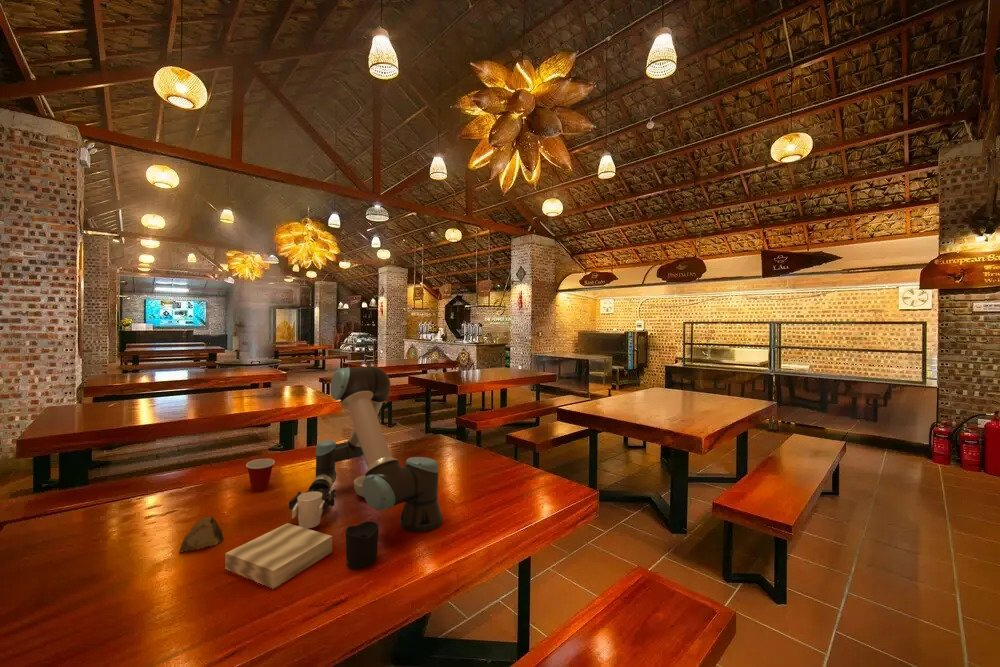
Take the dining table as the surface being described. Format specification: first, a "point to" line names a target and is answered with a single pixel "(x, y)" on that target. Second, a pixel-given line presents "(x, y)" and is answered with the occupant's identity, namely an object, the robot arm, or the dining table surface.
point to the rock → (202, 535)
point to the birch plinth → (278, 554)
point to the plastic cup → (260, 473)
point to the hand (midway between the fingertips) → (306, 513)
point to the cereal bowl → (359, 485)
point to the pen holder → (362, 545)
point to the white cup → (309, 509)
